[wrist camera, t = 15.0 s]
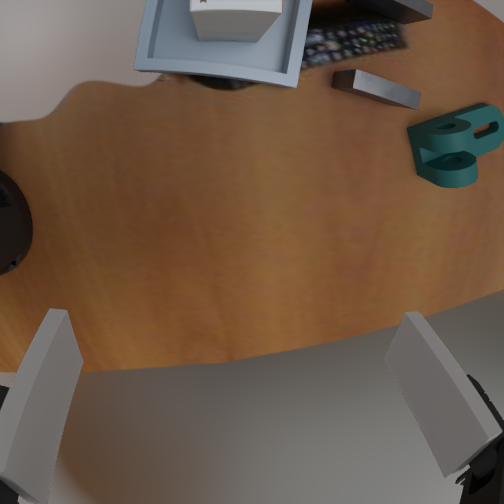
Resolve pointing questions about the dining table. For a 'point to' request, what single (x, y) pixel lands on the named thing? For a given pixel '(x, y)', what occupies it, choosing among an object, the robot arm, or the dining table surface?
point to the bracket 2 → (455, 144)
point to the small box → (234, 19)
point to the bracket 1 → (373, 87)
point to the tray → (222, 46)
